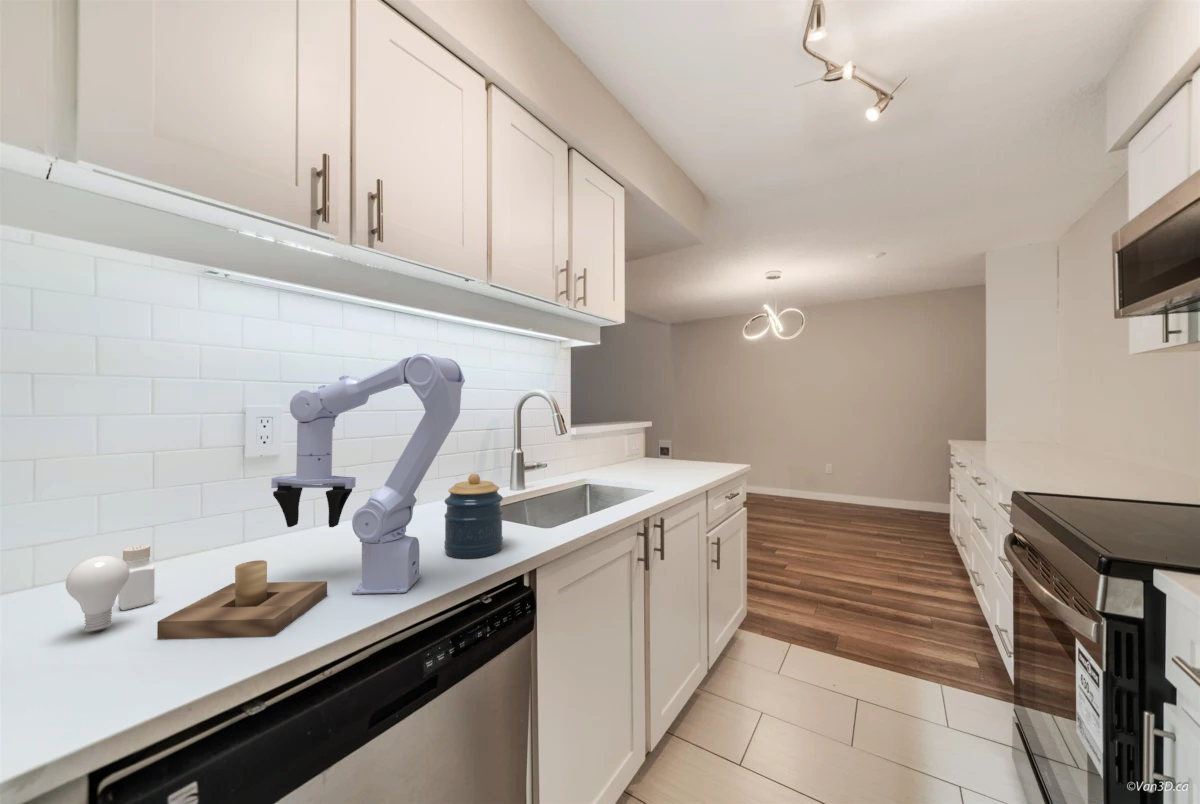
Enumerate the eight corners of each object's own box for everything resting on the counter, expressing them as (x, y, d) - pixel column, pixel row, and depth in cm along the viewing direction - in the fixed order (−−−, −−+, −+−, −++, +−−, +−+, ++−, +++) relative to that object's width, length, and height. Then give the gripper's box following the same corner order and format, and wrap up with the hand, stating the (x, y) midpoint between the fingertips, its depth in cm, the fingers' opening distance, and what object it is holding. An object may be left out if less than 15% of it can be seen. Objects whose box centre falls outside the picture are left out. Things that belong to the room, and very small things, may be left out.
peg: (272, 608, 74) (272, 559, 74) (258, 619, 70) (258, 568, 70) (244, 610, 73) (244, 561, 73) (229, 622, 70) (229, 570, 70)
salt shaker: (151, 597, 78) (151, 542, 79) (154, 603, 76) (155, 547, 76) (117, 605, 75) (118, 548, 75) (120, 612, 73) (120, 553, 73)
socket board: (327, 595, 79) (327, 581, 79) (273, 636, 65) (273, 618, 65) (232, 597, 78) (232, 583, 78) (157, 639, 64) (157, 621, 64)
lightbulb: (61, 633, 66) (62, 558, 66) (123, 616, 71) (124, 547, 71) (69, 646, 62) (69, 566, 62) (134, 627, 68) (134, 554, 68)
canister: (466, 539, 112) (466, 468, 112) (513, 544, 108) (513, 470, 108) (431, 556, 100) (432, 476, 100) (482, 562, 96) (482, 479, 96)
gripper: (363, 452, 90) (362, 520, 90) (288, 451, 90) (287, 520, 90) (345, 456, 83) (343, 530, 83) (264, 455, 83) (262, 530, 83)
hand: (313, 525), depth 86 cm, fingers open, 7 cm apart
